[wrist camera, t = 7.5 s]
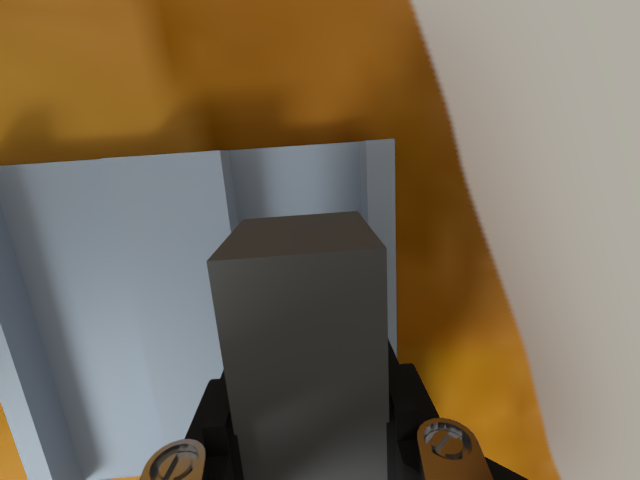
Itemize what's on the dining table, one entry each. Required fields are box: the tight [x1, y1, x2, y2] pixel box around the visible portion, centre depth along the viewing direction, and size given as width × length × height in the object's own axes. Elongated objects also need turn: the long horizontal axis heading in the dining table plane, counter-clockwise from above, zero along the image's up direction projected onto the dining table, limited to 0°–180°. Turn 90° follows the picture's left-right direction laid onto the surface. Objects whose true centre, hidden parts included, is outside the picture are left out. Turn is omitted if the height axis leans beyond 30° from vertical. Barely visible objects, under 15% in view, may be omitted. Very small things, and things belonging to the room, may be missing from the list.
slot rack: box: [0, 139, 397, 480], centre depth 15 cm, size 16×15×2 cm
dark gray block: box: [206, 211, 389, 480], centre depth 10 cm, size 11×4×4 cm, turn 4°
